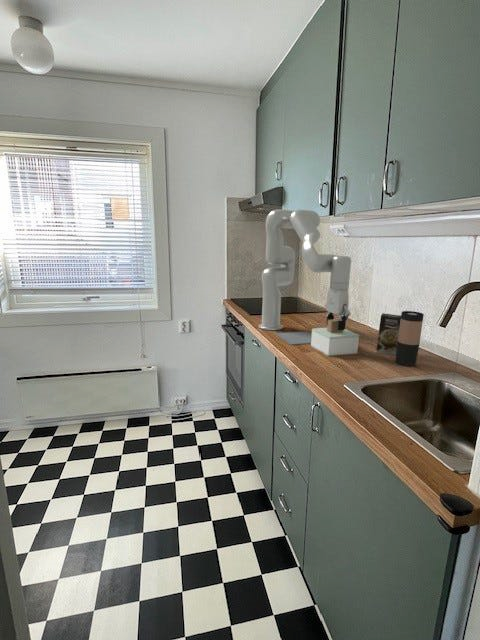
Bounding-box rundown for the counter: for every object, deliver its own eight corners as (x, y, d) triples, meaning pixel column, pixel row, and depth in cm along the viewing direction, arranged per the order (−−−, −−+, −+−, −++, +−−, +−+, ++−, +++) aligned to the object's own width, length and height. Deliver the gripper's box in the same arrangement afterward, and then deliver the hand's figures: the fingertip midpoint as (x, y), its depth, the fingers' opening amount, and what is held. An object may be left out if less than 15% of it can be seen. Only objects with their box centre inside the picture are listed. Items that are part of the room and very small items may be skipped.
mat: (275, 334, 169) (275, 333, 169) (307, 332, 175) (307, 331, 175) (291, 345, 152) (291, 344, 152) (326, 342, 158) (326, 341, 158)
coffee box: (375, 352, 145) (380, 315, 142) (377, 348, 151) (381, 312, 147) (399, 356, 141) (404, 318, 137) (400, 352, 147) (405, 315, 143)
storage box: (310, 345, 152) (312, 330, 151) (338, 343, 156) (339, 328, 155) (328, 356, 139) (329, 339, 138) (357, 353, 144) (358, 337, 142)
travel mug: (390, 359, 137) (397, 310, 132) (409, 360, 137) (416, 311, 132) (400, 366, 129) (408, 315, 125) (420, 366, 130) (428, 315, 125)
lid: (311, 332, 151) (313, 317, 149) (339, 330, 155) (340, 315, 154) (329, 341, 138) (330, 325, 136) (358, 339, 142) (360, 323, 141)
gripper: (320, 283, 148) (317, 323, 152) (343, 289, 132) (339, 333, 136) (335, 283, 151) (331, 322, 155) (360, 289, 135) (355, 332, 139)
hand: (335, 327), depth 146 cm, fingers open, 7 cm apart
